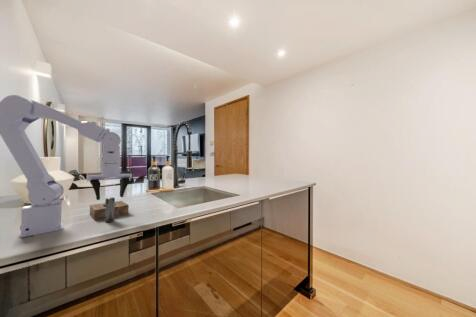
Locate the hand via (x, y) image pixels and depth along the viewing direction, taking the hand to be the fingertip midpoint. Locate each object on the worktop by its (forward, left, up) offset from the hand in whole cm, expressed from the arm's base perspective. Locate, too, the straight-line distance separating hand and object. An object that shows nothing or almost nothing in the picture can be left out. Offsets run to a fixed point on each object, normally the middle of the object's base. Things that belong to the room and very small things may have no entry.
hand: (110, 198), depth 72 cm
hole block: (+2, +10, -9) cm, 14 cm away
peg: (0, 0, -9) cm, 9 cm away
